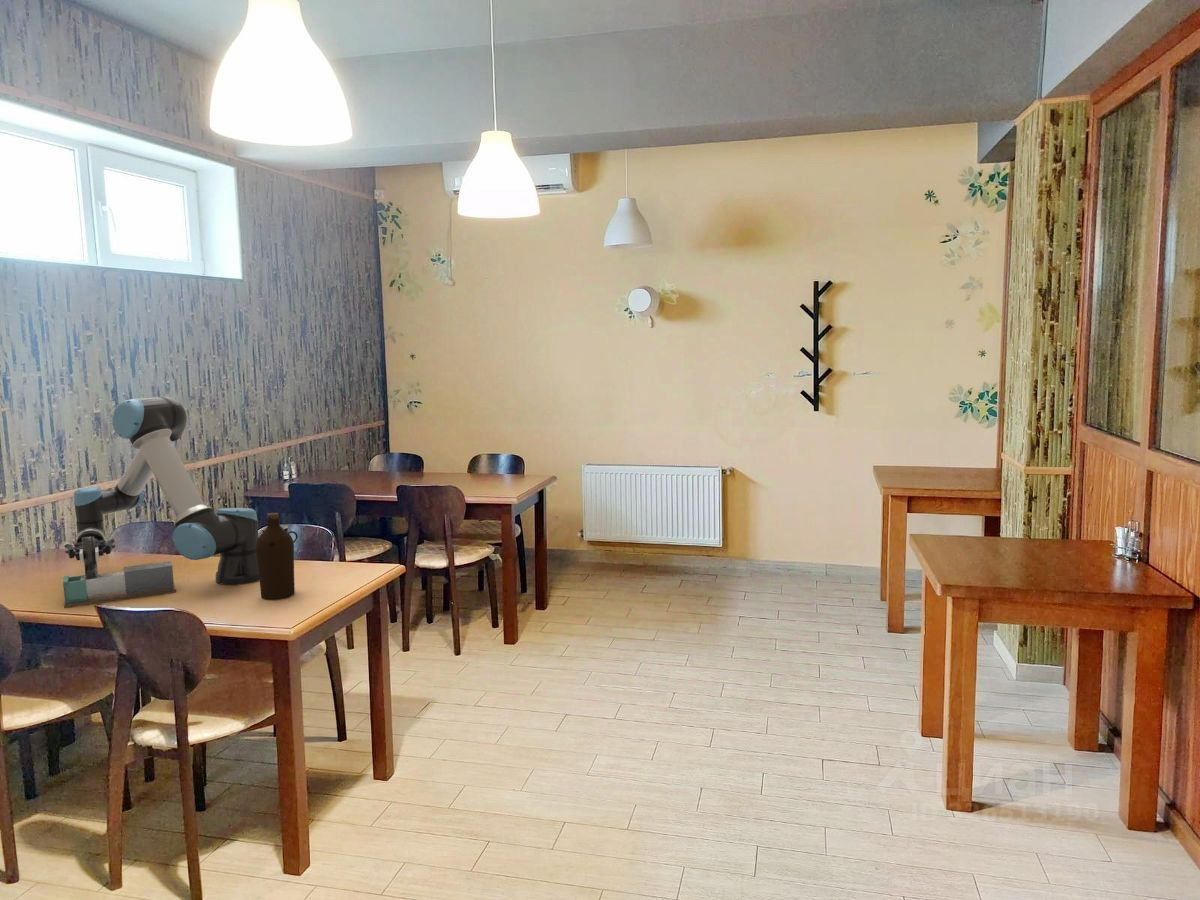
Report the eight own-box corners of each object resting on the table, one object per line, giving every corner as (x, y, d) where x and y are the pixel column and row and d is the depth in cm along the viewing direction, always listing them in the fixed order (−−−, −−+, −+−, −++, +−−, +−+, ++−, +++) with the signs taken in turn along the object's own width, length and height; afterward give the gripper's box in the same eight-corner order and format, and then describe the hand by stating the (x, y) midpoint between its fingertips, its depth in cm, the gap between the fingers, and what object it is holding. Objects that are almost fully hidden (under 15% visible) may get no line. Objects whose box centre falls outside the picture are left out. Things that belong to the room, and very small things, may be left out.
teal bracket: (87, 594, 252) (85, 573, 251) (87, 600, 246) (85, 578, 245) (66, 597, 249) (64, 576, 248) (65, 603, 243) (63, 581, 242)
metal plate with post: (143, 584, 258) (138, 530, 256) (143, 587, 254) (139, 533, 252) (82, 592, 250) (77, 537, 248) (82, 596, 246) (76, 540, 244)
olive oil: (302, 595, 251) (297, 513, 248) (267, 603, 243) (261, 518, 240) (288, 588, 258) (283, 508, 255) (253, 595, 251) (247, 513, 248)
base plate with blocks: (173, 584, 265) (171, 559, 264) (176, 592, 256) (174, 566, 255) (65, 599, 250) (62, 573, 249) (64, 608, 242) (61, 581, 241)
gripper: (121, 549, 268) (122, 565, 248) (61, 557, 260) (57, 573, 240) (119, 526, 267) (120, 540, 247) (58, 533, 259) (54, 548, 239)
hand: (89, 557), depth 244 cm, fingers closed on metal plate with post, 3 cm apart
